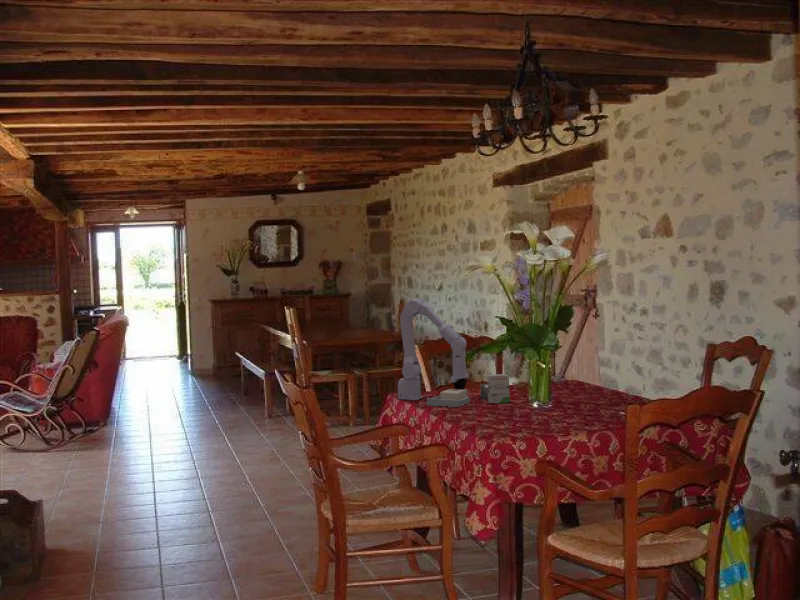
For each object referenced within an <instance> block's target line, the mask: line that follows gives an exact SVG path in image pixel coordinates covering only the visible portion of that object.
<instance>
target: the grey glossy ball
mask: <svg viewBox="0 0 800 600" xmlns="http://www.w3.org/2000/svg"><path fill="white" fill-rule="evenodd" d="M479 387H480V390H479V391H480V399H481V398H482V399H488V383H483V384H480V386H479ZM482 399H481V400H482Z"/></svg>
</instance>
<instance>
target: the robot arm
mask: <svg viewBox="0 0 800 600" xmlns="http://www.w3.org/2000/svg"><path fill="white" fill-rule="evenodd" d="M417 315H420V316H424V317H426V318H427V319H428V320H429V321H431V322H432V323H433V325H435V326H436V328H438V333H439V335H441V337H443V339H444V340H445V341H446V342H447V343H448V344H450V348H451V350H452V355H451V356H452V376H451V377H450V383H452V385H453V387H454V389H465V388H466V385H467V383H468V379H469V373H468V372H467V361H466V362H465V354H466V347H467V343H468V341H467V339H465V337H464V336H462V335H461V334H460V333H459V332H457V331H456V330H455V329H454V326H453V325H452V324H451V325H450V324H449V323H444V320H442V319H441V318H440V316H439V315H438V313H436V312H435V310H434V309H433V308H432V307H431V306H430V305H429V303H427V302H425V300H424V299H423V298H421V297H417V298H411V299H409V300H408V301H406V303H405V304H404V306H403V309H402V312H401V314H400V316H399V320H400V321H399V323H400V331H401V339H402V347H403V355H404V358H403V361H402V364H403V367H402V370H401V373H402V375H403V376H402V377H401V378H400V379H399V380H398V383H397V395H398V397H397V400H407V401H408V400H409V401H418V400H420V398H421V399H423V397H424V398H425V395H424V396H423V395H422V396H421V392H422V391H421V376H420V374H421V372H422V366H421V364H420V362H419V359H418V357H417V352H416V351H417V350H416V343H415V335H414V326H413V320H414V318H415V317H416V316H417Z"/></svg>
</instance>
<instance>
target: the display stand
mask: <svg viewBox="0 0 800 600" xmlns="http://www.w3.org/2000/svg"><path fill="white" fill-rule="evenodd" d="M469 402H470V403H471V397H470V396H468V397H466V398H463V399H461V400H448V399H441V397H440V395H437V396H434V397H431V398H430V397H428V398H426V405H427V406H428V407H438V406H442V408H446V407H445V406H448V407H447V408H453V407H459V406H461V407H463V406H465V405H464V404H466V405H468V404H470V403H469ZM467 403H468V404H467ZM462 405H463V406H462ZM459 408H460V407H459Z"/></svg>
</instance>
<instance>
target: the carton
mask: <svg viewBox="0 0 800 600" xmlns="http://www.w3.org/2000/svg"><path fill="white" fill-rule="evenodd" d="M440 397H441V399H448V400H461V399H463V398H466V397H469V396H468V389H465V388H464V389H455V388H449V389H448V388H447V389H446V390H442V391H440Z"/></svg>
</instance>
